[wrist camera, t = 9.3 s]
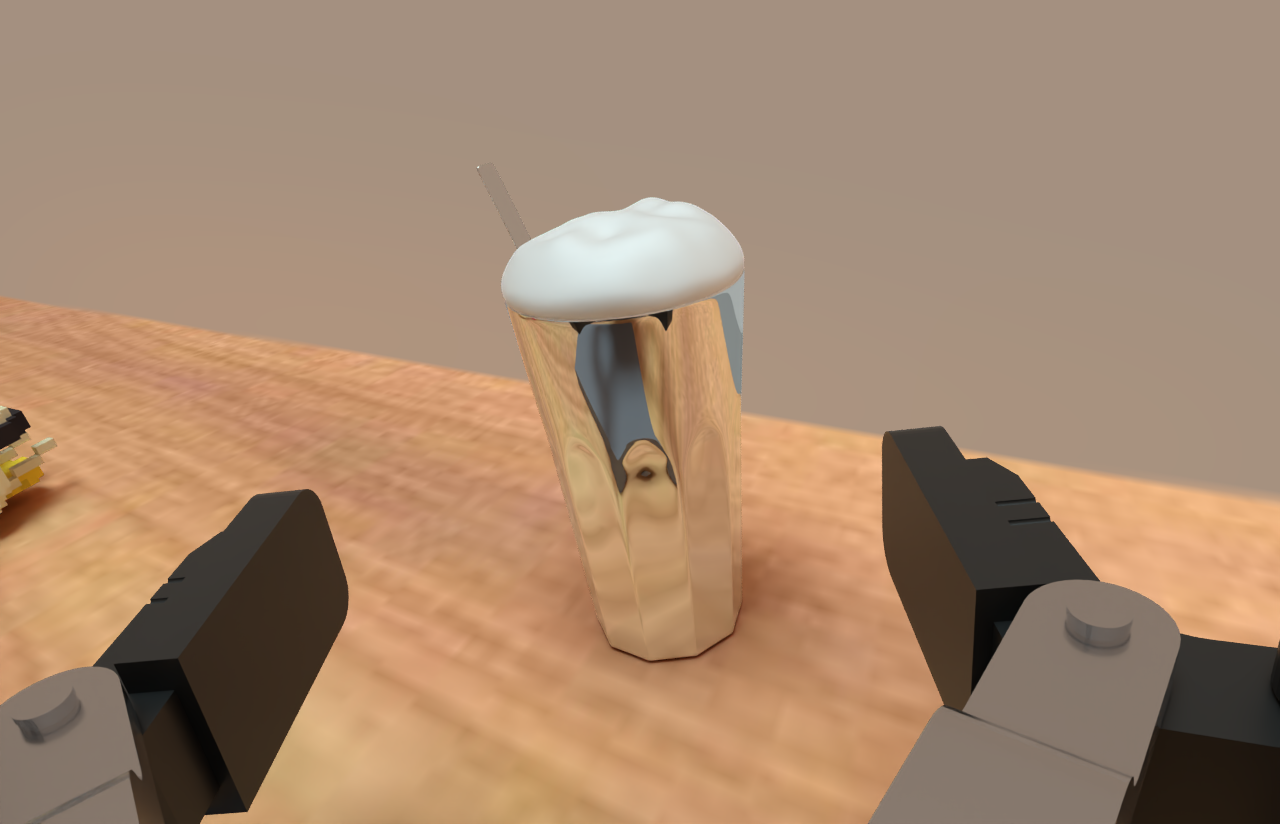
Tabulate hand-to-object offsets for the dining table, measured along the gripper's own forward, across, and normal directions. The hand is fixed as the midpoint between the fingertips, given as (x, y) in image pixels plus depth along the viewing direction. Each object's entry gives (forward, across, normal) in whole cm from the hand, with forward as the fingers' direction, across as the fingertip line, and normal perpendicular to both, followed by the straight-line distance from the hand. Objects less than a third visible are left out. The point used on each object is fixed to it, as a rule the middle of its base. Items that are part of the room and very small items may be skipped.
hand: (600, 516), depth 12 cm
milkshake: (+6, 0, +6) cm, 8 cm away
